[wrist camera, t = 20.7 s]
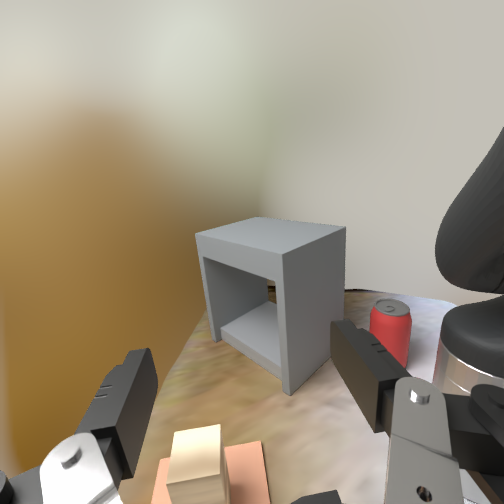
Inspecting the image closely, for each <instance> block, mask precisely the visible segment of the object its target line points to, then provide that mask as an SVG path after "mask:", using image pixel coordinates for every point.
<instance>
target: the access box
mask: <svg viewBox="0 0 504 504" xmlns="http://www.w3.org/2000/svg"><path fill="white" fill-rule="evenodd" d="M195 237H196V243H197V248H198V254H199V261H200V267H201V273H202V279H203V285H204V292H205V298H206V304H207V310H208V316H209V322H210V328H211V335H212V340H214V341H215V342H218V341H220V340H221V339H222V340H224V341H225V342H227V343H228V344H230V345H231V346H233V347H234V348H235V349H237V350H238V351H240V352H241V353H243V354H244V355H245V356H247V357H248V358H250V359H251V360H253V361H254V362H256V363H257V364H258V365H260V366H261V367H263V368H264V369H266V370H267V371H268V372H270V373H271V374H273V375H274V376H276V377H277V378H279V379H280V380H281V381H282V387H283V392H285V393H286V394H288V395H289V396H291V395H292V394H293V393H294V392H295V391H296V390H297V389H298V388H299V387H300V386H301V385H302V384H303V383H304V382H305V381H306V380H307V379H308V378H309V377H310V376H311V375H312V374H313V373H314V372H315V371H316V370H317V369H318V368H319V367H320V366H322V365H323V364H324V363H325V362H326V361H327V360H328V359H329V358H330V357H331V353H330V324H331V321H336V320H343V319H344V286H345V284H344V283H345V243H346V227H343V226H334V225H325V224H315V223H307V222H298V221H290V220H281V219H272V218H263V217H255V218H251V219H247V220H244V221H240V222H237V223H233V224H229V225H225V226H221V227H218V228H214V229H210V230H207V231H203V232H199V233H195ZM267 279H270V280H273V281H275V282H276V297H277V304H275V303H273V302H270V301H268V288H267Z"/></svg>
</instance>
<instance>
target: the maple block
mask: <svg viewBox="0 0 504 504" xmlns="http://www.w3.org/2000/svg"><path fill="white" fill-rule="evenodd" d="M166 486H167V490H168V493H169V497H170V500H171V503H172V504H231V487H230V479H229V473H228V467H227V461H226V455H225V450H224V444H223V438H222V432H221V427H220V424H219V425H213V426H207V427H202V428H196V429H190V430H184V431H179V432H175V434H174V440H173V446H172V451H171V457H170V463H169V469H168V475H167V480H166Z"/></svg>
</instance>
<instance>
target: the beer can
mask: <svg viewBox="0 0 504 504" xmlns="http://www.w3.org/2000/svg"><path fill="white" fill-rule="evenodd" d="M409 311H410V309H409V307H408V306H407V305H406V304H405V303H403V302H401V301H398V300H394V299H380V300H378V301H376V302H375V303H374V307H373V309H372V311H371V315H370V331H369V332H370V333H371V334H373V335H374V336H375V337H376V338H377V339H378V340H379V341H380V342H381V345H382V344H383V346H384V347H385V348H386V349H387V351H388V352H390V353H391V354H392V355H393V356H394V357H395V359H396V360H397V361H398V362H399V363H400V364H401V365H402V366H403V367H404V368H405V367H406V365H407V358H408V350H409V342H410V334H411V325H412V319H411V315H410V312H409Z"/></svg>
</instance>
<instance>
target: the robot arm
mask: <svg viewBox="0 0 504 504" xmlns="http://www.w3.org/2000/svg"><path fill="white" fill-rule="evenodd" d="M435 257H436V263H437V266H438V268H439V271H440V272H441V274H442V276H444V278H445V279H446V280H447V281H448V282H450V283H451V284H453V285H455V286H457V287H460V288H463V289H467V290H471V291H478V292H485V293H495V294H504V127H503V129H502V131H501V132H500V134H499V136H498V138H497V139H496V141H495V143H494V144H493V146H492V148H491V149H490V151H489V152H488V154H487V155H486V157H485V158H484V160H483V161H482V162H481V164H480V165H479V167H478V168H477V169H476V171H475V172H474V173H473V175H472V176H471V177H470V179H469V180H468V182H467V183H466V184H465V186H464V187H463V188H462V190H461V191H460V193H459V194H458V195H457V197H456V198H455V200H454V201H453V203H452V204H451V206H450V207H449V209H448V211H447V213H446V214H445V216H444V218H443V220H442V223H441V225H440V228H439V231H438V235H437V239H436V245H435ZM330 353H331V357H332V361H333V363H334V365H335V367H336V368H337V370H338V372H339V373H340V375H341V377H342V379H343V380H344V382H345V384H346V385H347V387H348V389H349V391H350V392H351V394H352V396H353V397H354V399H355V401H356V403H357V404H358V406H359V408H360V409H361V411H362V413H363V415H364V416H365V418H366V420H367V421H368V423H369V425H370V426H371V428H372V430H373V432H374V433H379V432H384V431H385V432H386V433H387V435H388V436H389V438H390V439H389V450H388V461H387V472H386V483H385V494H384V504H464V499H463V497H465V498H466V499H468V500H470V501H473V502H475V503H478V504H504V295H502V296H500V297H497V298H494V299H491V300H487V301H482V302H477V303H472V304H465V305H461V306H458V307H455V308H453V309H451V310H450V311H448V312H447V313H446V315H445V316H444V318H443V322H442V326H441V332H440V338H439V345H438V351H437V358H436V364H435V370H434V376H433V382H432V384H431V383H429V382H427V381H425V380H423V379H420V378H416V377H412V376H411V375H410V374H409V373H408V372H407V370H406V369H405V368H404V367H403V366H402V365H401V364H400V363H399V362H398V361H397V360H396V359H395V357H394V356H393V355H392V354H391V353H390V352H388V351H387V349H386V348H385V347H384V346H383V344H382V345H381V342H380V341H379V340H378V339H377V338H376V337H375V336H374V335H373V334H371V333H370V332H368V331H366V330H365V329H363V328H361V329H357V328H356V327H355V325H354V324H353V323H352V322H351V321H350V320H349V319H343V320H336V321H331V324H330ZM157 388H158V379H157V374H156V370H155V366H154V362H153V358H152V354H151V351H150V349H149V348H146V349H139V350H132V351H129V353H128V354H127V356H126V359H125V360H124V363H123V364H122V365H117V366H116V367H114V368H113V370H111V371H110V372H109V374H107V375H106V377H105V379H104V381H103V383H102V384H101V386H100V389H99V390H98V391H97V393H96V395H95V399H93V401H92V402H91V404H90V406H89V408H88V410H87V412H86V414H85V415H84V417H83V419H82V421H81V423H80V425H79V426H78V428H77V430H76V432H75V434H74V435H73V436H71V437H69V438H67V439H65V440H64V441H62V442H61V443H60V444H59V445H57V446H56V447H55V448H54V449H53V450H52V451H51V452H50V453H49V454H48V456H47V457H46V458H45V460H44V462H43V463H42V464H41V465H40V466H37V467H35V468H33V469H31V470H29V471H27V472H24V473H22V474H20V475H17V476H15V477H13V478H11V479H8V478H7V477H6V475H5V473H4V472H3V471H1V470H0V504H122V502H121V499H120V497H119V494H118V492H117V491H118V488H119V485H120V482H121V480H125V479H130V478H133V477H134V473H135V470H136V466H137V463H138V459H139V455H140V452H141V448H142V445H143V441H144V437H145V434H146V430H147V427H148V423H149V419H150V416H151V412H152V409H153V405H154V401H155V398H156V394H157ZM291 504H342V503H341V500H340V497H339V495H338V492H337V490H333V491H328V492H323V493H318V494H313V495H309V496H304V497H301V498H299V499H298V500H296V501H294V502H292V503H291Z"/></svg>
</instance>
